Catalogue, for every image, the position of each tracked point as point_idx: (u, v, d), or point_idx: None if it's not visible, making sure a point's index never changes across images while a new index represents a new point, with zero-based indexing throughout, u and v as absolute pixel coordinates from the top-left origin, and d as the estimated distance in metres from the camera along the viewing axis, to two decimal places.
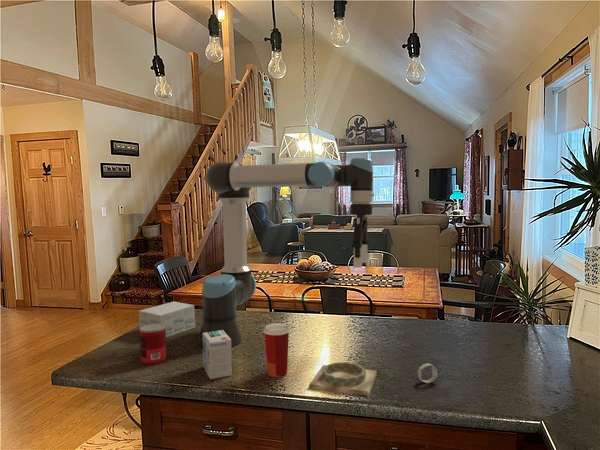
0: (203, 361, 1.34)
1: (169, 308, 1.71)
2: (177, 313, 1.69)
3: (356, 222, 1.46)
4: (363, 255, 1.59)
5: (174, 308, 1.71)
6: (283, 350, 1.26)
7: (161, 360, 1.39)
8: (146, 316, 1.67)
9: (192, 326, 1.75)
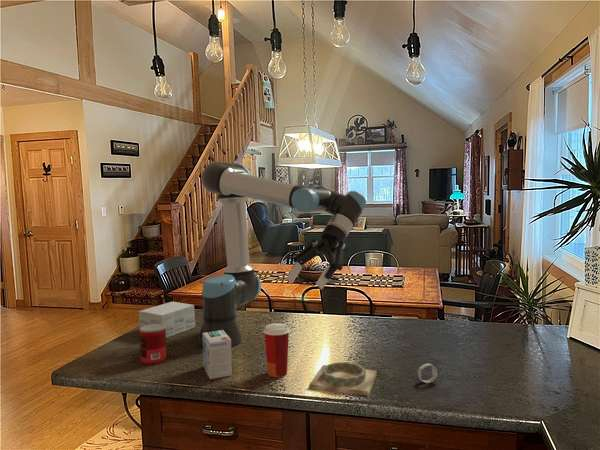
0: (203, 361, 1.34)
1: (169, 308, 1.72)
2: (178, 313, 1.70)
3: (342, 246, 1.36)
4: (294, 275, 1.41)
5: (175, 308, 1.72)
6: (283, 350, 1.26)
7: (161, 360, 1.39)
8: (147, 316, 1.67)
9: (192, 326, 1.76)
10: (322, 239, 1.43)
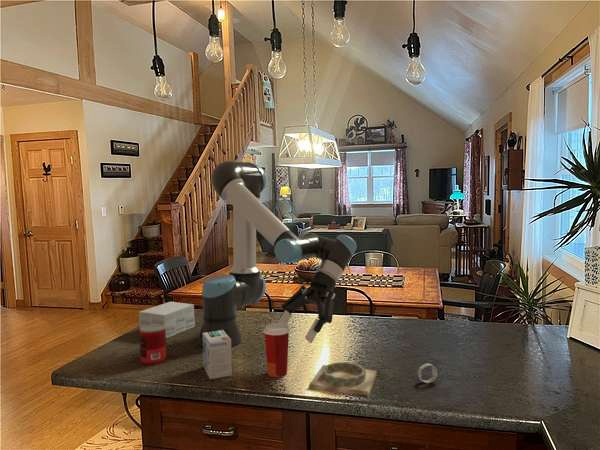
0: (203, 361, 1.34)
1: (170, 308, 1.72)
2: (179, 313, 1.70)
3: (331, 296, 1.31)
4: None
5: (175, 308, 1.72)
6: (283, 350, 1.26)
7: (161, 360, 1.39)
8: (148, 316, 1.66)
9: (192, 325, 1.77)
10: (311, 286, 1.39)
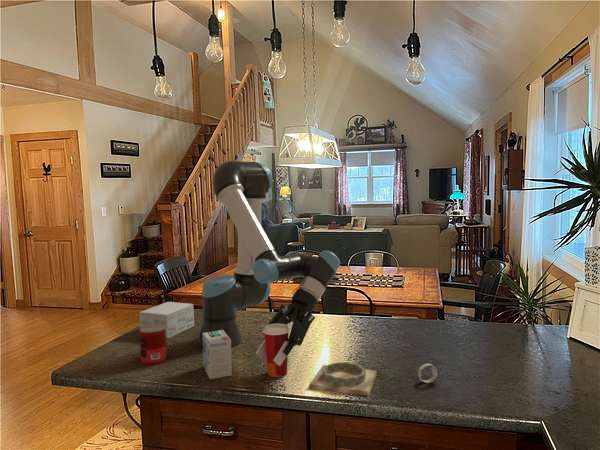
0: (203, 361, 1.34)
1: (170, 308, 1.72)
2: (180, 312, 1.71)
3: (309, 318, 1.28)
4: (264, 349, 1.31)
5: (176, 307, 1.72)
6: None
7: (161, 360, 1.39)
8: (149, 316, 1.66)
9: (192, 325, 1.77)
10: (292, 303, 1.36)
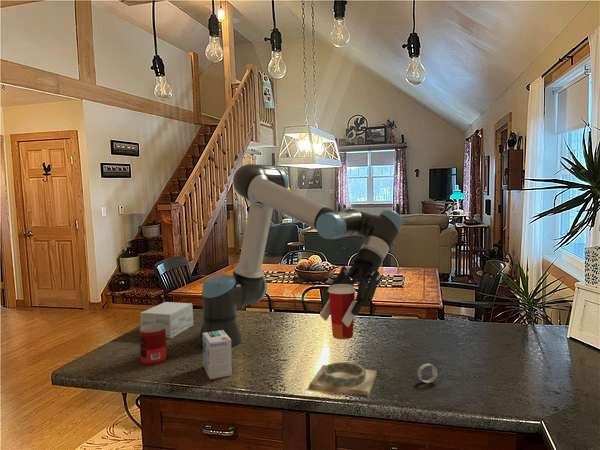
0: (203, 361, 1.34)
1: (171, 308, 1.72)
2: (181, 312, 1.71)
3: (376, 277, 1.21)
4: (328, 311, 1.24)
5: (176, 307, 1.73)
6: None
7: (161, 360, 1.39)
8: (151, 317, 1.65)
9: (191, 324, 1.78)
10: (354, 264, 1.29)
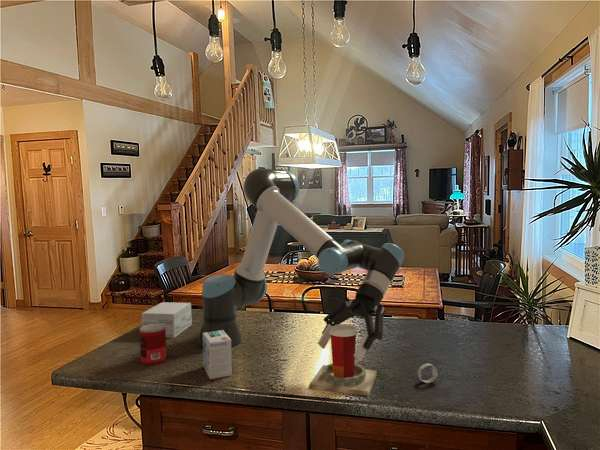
0: (203, 361, 1.34)
1: (171, 307, 1.72)
2: (182, 311, 1.72)
3: (381, 310, 1.22)
4: (326, 339, 1.27)
5: (176, 307, 1.73)
6: (352, 352, 1.20)
7: (161, 360, 1.39)
8: (153, 317, 1.65)
9: (190, 323, 1.79)
10: (357, 298, 1.29)
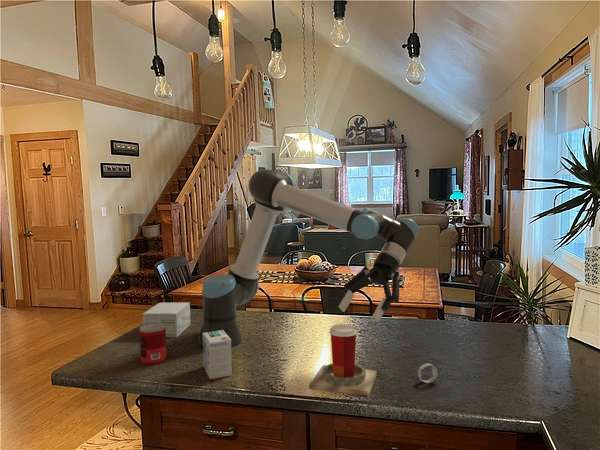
0: (203, 361, 1.34)
1: (171, 307, 1.73)
2: (183, 311, 1.73)
3: (397, 277, 1.33)
4: (346, 303, 1.39)
5: (177, 307, 1.74)
6: (352, 352, 1.20)
7: (161, 360, 1.39)
8: (155, 317, 1.65)
9: (189, 323, 1.80)
10: (375, 267, 1.41)
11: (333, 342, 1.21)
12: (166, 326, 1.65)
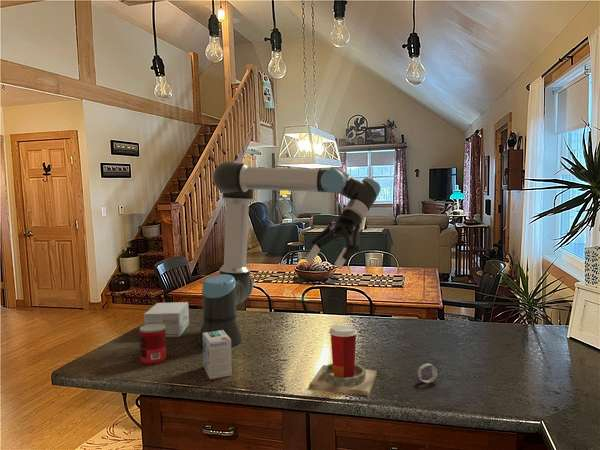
0: (203, 361, 1.34)
1: (172, 307, 1.73)
2: (183, 310, 1.73)
3: (358, 229, 1.43)
4: (312, 256, 1.49)
5: (177, 306, 1.74)
6: (352, 352, 1.20)
7: (161, 360, 1.39)
8: (157, 317, 1.65)
9: (188, 322, 1.81)
10: (339, 223, 1.51)
11: (333, 342, 1.21)
12: (168, 326, 1.65)
